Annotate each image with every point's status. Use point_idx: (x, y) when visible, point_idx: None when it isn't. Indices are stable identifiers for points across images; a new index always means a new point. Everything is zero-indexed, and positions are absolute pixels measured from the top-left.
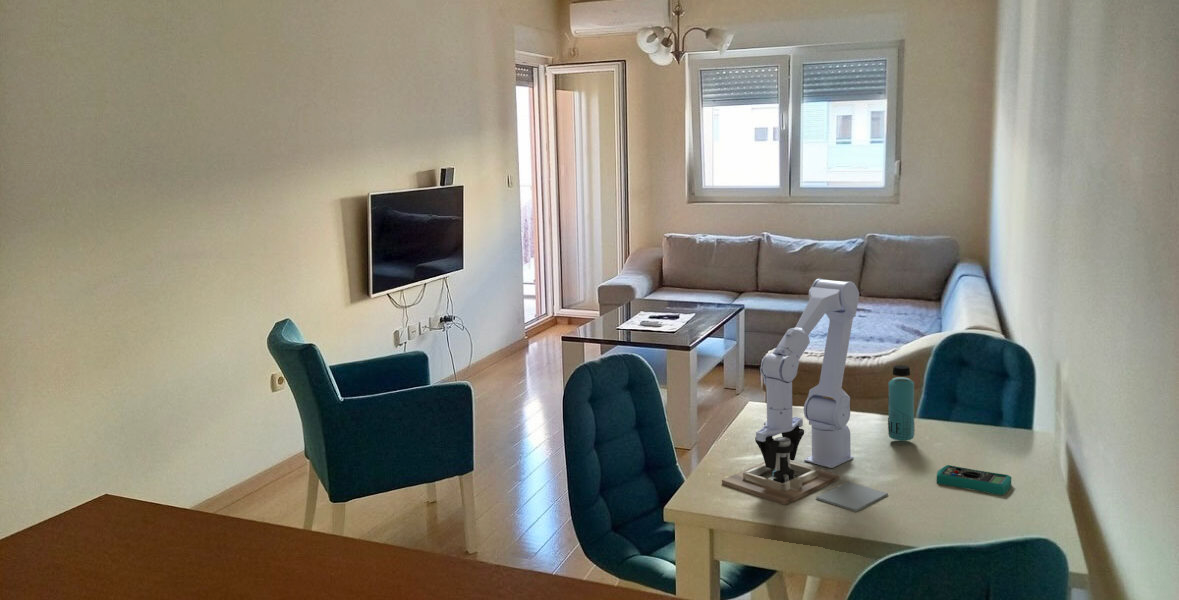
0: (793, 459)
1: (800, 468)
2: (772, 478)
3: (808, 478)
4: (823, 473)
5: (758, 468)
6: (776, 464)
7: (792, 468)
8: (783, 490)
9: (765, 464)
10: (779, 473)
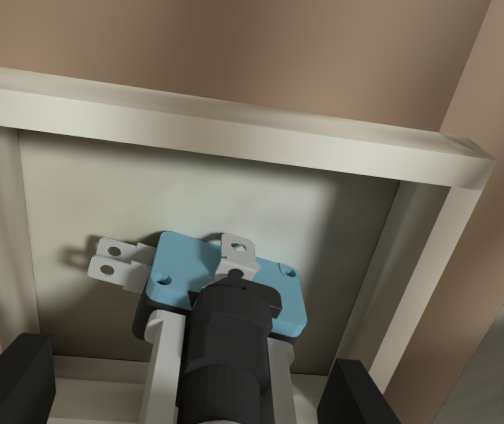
0: (321, 421)
1: (366, 355)
2: (111, 279)
3: None
4: (398, 415)
5: (143, 144)
6: (149, 364)
7: (382, 290)
8: None
9: (2, 353)
10: (143, 339)
